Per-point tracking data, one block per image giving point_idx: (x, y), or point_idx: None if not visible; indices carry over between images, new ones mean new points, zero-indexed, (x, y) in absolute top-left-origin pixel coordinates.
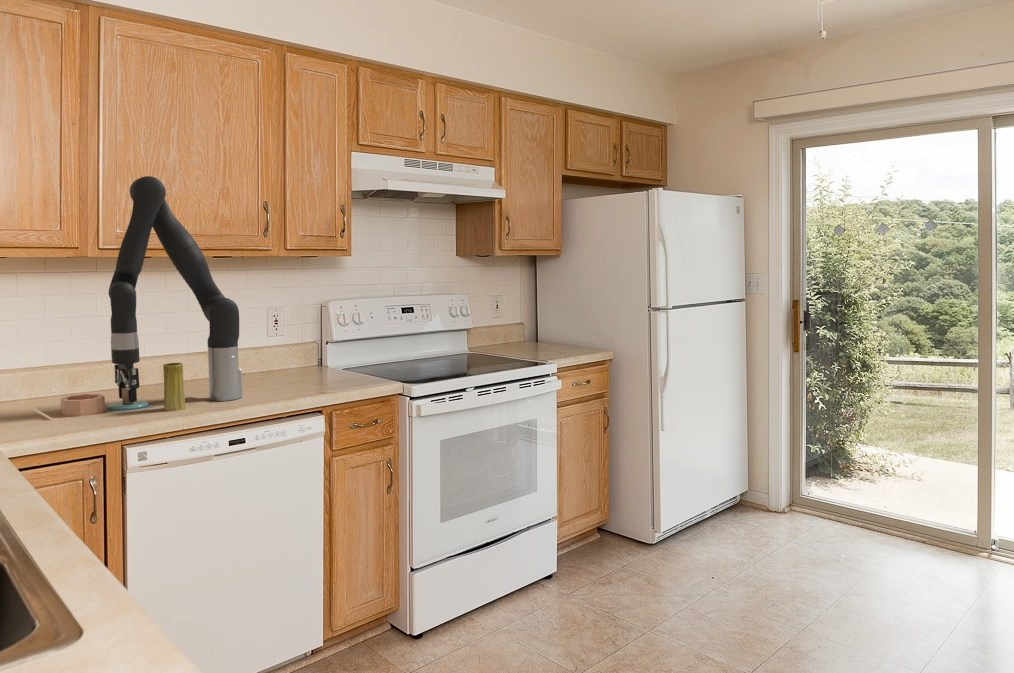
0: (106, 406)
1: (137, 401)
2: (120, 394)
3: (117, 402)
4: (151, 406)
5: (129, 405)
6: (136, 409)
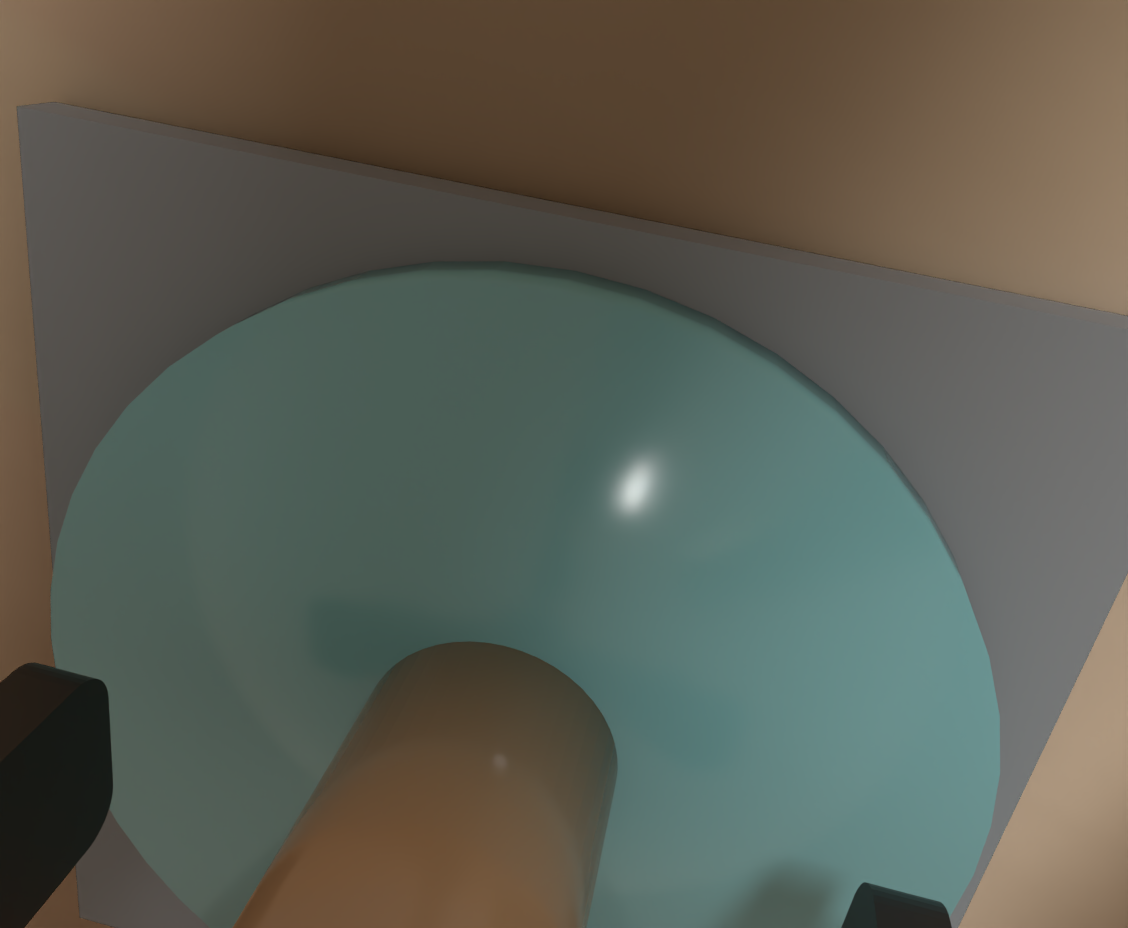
0: (136, 871)
1: (296, 428)
2: (38, 893)
3: None
4: (1037, 399)
5: (695, 835)
6: (1013, 809)
